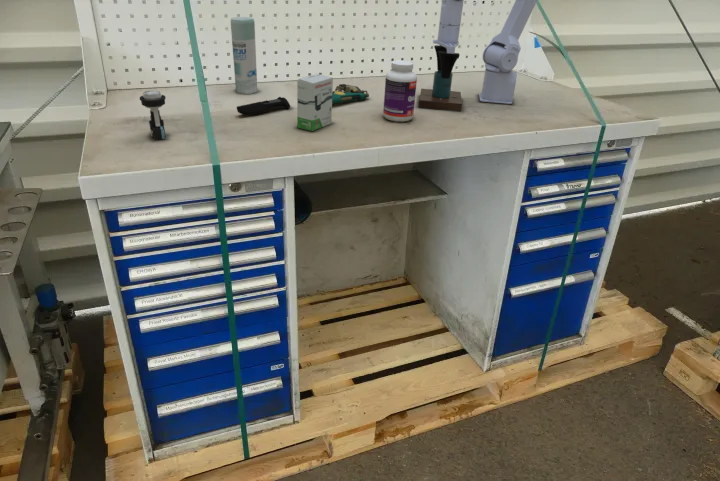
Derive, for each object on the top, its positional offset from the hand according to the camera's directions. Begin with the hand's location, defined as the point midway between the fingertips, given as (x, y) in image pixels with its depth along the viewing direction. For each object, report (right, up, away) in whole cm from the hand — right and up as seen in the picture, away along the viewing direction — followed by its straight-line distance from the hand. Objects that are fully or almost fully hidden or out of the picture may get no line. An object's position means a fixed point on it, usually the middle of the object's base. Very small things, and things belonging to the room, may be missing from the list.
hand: (443, 74), depth 150 cm
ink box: (-35, -19, -18) cm, 44 cm away
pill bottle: (-14, -15, -10) cm, 23 cm away
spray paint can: (-58, -3, +5) cm, 58 cm away
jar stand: (0, -7, +4) cm, 8 cm away
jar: (0, -5, +3) cm, 6 cm away
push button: (-70, -24, -30) cm, 80 cm away
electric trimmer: (-49, -14, -11) cm, 52 cm away
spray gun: (-30, -6, +3) cm, 31 cm away
